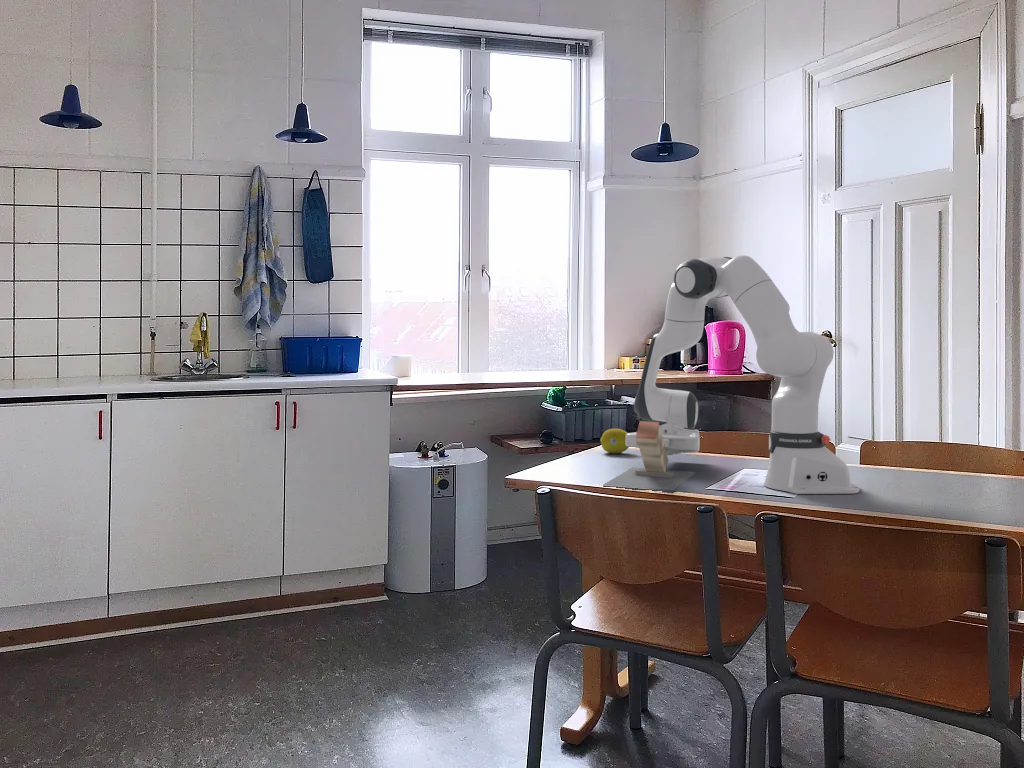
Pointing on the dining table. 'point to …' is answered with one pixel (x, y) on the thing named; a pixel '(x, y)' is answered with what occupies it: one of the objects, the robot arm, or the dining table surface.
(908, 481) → the dining table surface
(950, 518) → the dining table surface
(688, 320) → the robot arm
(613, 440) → the lemon
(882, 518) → the dining table surface
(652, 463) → the birch block
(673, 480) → the mat
